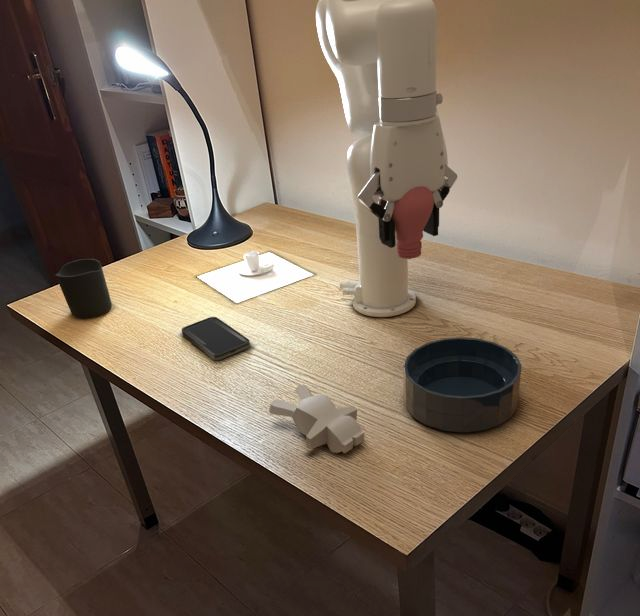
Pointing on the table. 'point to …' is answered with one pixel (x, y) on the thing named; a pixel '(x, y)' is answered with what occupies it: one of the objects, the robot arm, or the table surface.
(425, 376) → the dark grey round tub
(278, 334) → the table surface
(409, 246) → the light bulb
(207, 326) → the phone
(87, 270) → the dark grey spouted beaker
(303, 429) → the bunny figurine
